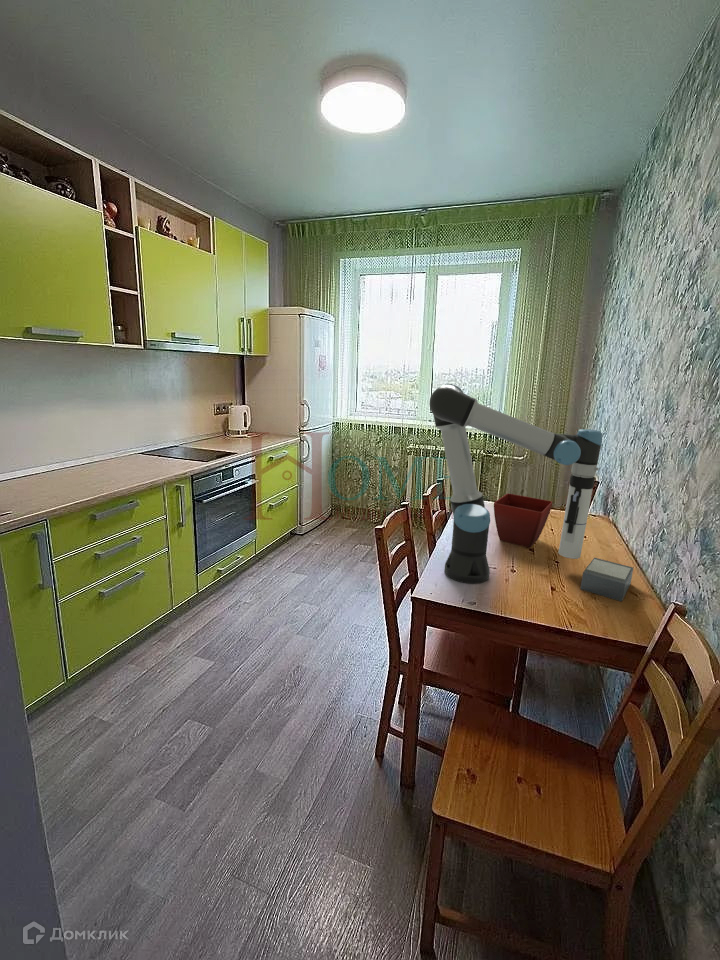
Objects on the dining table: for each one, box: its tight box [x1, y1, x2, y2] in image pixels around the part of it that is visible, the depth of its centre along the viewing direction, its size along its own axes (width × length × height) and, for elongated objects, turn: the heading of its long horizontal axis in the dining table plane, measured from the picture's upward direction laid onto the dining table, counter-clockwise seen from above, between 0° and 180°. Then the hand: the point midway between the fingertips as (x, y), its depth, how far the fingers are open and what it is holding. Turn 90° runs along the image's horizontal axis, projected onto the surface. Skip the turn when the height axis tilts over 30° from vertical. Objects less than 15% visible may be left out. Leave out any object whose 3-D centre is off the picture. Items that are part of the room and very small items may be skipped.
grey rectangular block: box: [579, 557, 634, 603], centre depth 146 cm, size 16×12×6 cm
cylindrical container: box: [558, 484, 594, 560], centre depth 154 cm, size 7×7×25 cm
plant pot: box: [493, 493, 553, 548], centre depth 184 cm, size 19×19×17 cm
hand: (572, 538), depth 156 cm, fingers closed on cylindrical container, 7 cm apart
